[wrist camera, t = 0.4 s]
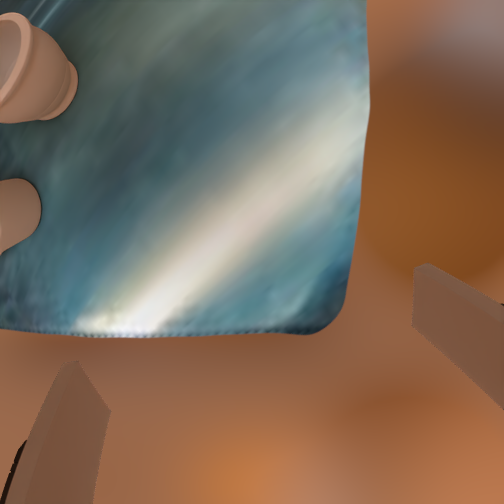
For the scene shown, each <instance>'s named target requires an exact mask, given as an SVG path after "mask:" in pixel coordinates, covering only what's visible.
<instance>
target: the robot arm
mask: <svg viewBox="0 0 504 504" xmlns="http://www.w3.org/2000/svg"><path fill="white" fill-rule="evenodd" d="M412 326H413V327H414V328H415V329H416V330H417V331H418V332H419V333H421V334H422V335H423V336H424V337H425V338H426V339H427V340H429V341H430V342H431V343H432V344H433V345H434V346H435V347H436V348H438V349H439V350H440V351H441V352H442V353H443V354H444V355H445V356H447V357H448V358H449V359H450V360H451V361H452V362H453V363H454V364H455V365H456V366H458V367H459V368H460V369H461V370H462V371H463V372H464V373H465V374H466V375H467V376H469V378H471V379H472V380H473V381H474V382H475V383H476V384H477V385H478V386H479V387H480V388H481V389H482V390H483V391H485V393H486V394H488V395H489V396H490V397H491V398H492V399H493V400H494V401H495V402H496V403H497V404H498V405H499V406H500V407H501V408H502V409H503V410H504V304H499V303H498V302H496V301H494V300H493V299H491V298H490V297H488V296H486V295H484V294H483V293H481V292H479V291H478V290H476V289H474V288H472V287H471V286H469V285H467V284H466V283H464V282H462V281H460V280H459V279H456V278H455V277H453V276H451V275H450V274H448V273H446V272H444V271H442V270H441V269H439V268H437V267H435V266H433V265H431V264H429V263H426V264H423V265H421V266H418V267H416V268H414V294H413V314H412ZM110 413H111V410H110V409H109V408H108V406H107V404H106V403H105V402H104V400H103V399H102V397H101V396H100V394H99V393H98V391H97V390H96V388H95V387H94V385H93V384H92V382H91V380H90V379H89V377H88V376H87V374H86V373H85V371H84V370H83V368H82V366H81V364H80V363H79V361H74V362H67V363H63V365H62V367H61V369H60V371H59V372H58V374H57V376H56V378H55V380H54V382H53V384H52V386H51V388H50V390H49V392H48V395H47V397H46V399H45V401H44V403H43V405H42V407H41V410H40V412H39V414H38V416H37V418H36V421H35V423H34V425H33V428H32V430H31V432H30V435H29V437H28V439H27V440H26V441H25V442H24V443H23V444H22V446H21V447H20V448H19V449H18V451H17V454H16V457H15V459H14V464H13V465H12V467H11V470H10V471H11V473H9V475H8V478H7V481H6V484H5V487H4V490H3V493H2V497H1V500H0V504H93V499H94V492H95V486H96V480H97V474H98V469H99V464H100V459H101V454H102V449H103V444H104V439H105V435H106V430H107V426H108V422H109V417H110Z"/></svg>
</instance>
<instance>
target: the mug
mask: <svg viewBox="0 0 504 504" xmlns="http://www.w3.org/2000/svg"><path fill="white" fill-rule="evenodd" d="M40 216H41V203H40V199H39V196H38V193H37V191H36V190H35V188H34V187H33V186H32V184H30V183H29V182H28V181H26V180H24V179H17V178H16V179H9V180H3V181H0V255H1V253H2V252H3V251H5V250H6V249H8V248H10V247H12V246H13V245H15V244H17V243H19V242H20V241H22V240H24V239H26V238H27V237H29V236H30V235H31V234H32V233H33V232H34V231H35V229H36V228H37V226H38V224H39V221H40Z"/></svg>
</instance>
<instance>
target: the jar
mask: <svg viewBox="0 0 504 504" xmlns="http://www.w3.org/2000/svg"><path fill="white" fill-rule="evenodd" d="M77 85H78V75H77V71H76V69H75V67H74V66H73V64H72V63H71V62H69V61H68V60H67V58H66V56H65V54H64V53H63V52H62V50H61V48H60V47H59V45H58V44H57V43H56V41H55V40H54V39H53V38H52V37H51V36H50V35H49V34H47V33H46V32H44V31H43V30H41V29H39V28H37V27H35V26H32V25H31V23H30V22H29V20H28V19H27V18H26V17H24V16H23V15H21V14H18V13H6V14H3V15H0V123H19V122H24V121H32V120H37V119H39V120H49V119H52V118H55V117H56V116H58V115H60V114H61V113H62V112H63V111H64V110H65V109H66V108H67V107H68V106H69V104H70V103H71V101H72V100H73V98H74V96H75V93H76V90H77Z"/></svg>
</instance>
